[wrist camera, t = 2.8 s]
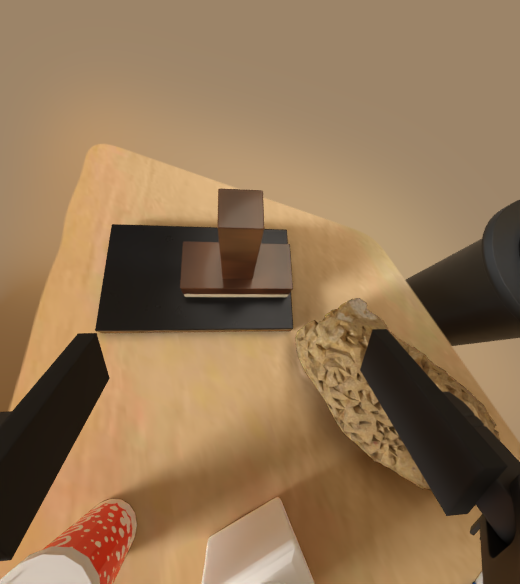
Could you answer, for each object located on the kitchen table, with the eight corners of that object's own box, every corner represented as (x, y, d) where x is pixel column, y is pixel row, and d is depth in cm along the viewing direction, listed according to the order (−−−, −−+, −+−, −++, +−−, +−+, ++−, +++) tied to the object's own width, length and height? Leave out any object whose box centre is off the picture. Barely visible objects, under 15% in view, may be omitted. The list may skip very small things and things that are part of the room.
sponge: (275, 353, 30) (409, 554, 22) (293, 323, 23) (491, 592, 15) (354, 306, 35) (485, 454, 27) (387, 270, 29) (570, 451, 21)
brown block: (284, 256, 30) (318, 181, 19) (286, 297, 29) (325, 244, 17) (187, 254, 29) (157, 172, 17) (185, 297, 28) (150, 240, 16)
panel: (284, 235, 33) (287, 229, 32) (290, 331, 29) (293, 328, 28) (117, 230, 31) (111, 224, 29) (101, 333, 27) (94, 330, 26)
